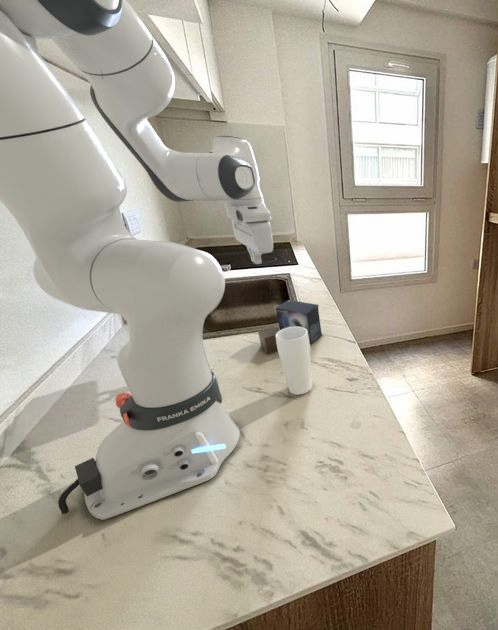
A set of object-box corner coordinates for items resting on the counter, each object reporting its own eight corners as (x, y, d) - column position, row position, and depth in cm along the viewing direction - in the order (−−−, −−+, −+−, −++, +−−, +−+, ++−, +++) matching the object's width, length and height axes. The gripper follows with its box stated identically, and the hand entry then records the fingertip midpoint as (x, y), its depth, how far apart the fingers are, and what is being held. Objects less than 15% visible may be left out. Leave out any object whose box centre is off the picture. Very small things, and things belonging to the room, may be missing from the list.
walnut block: (267, 354, 91) (264, 338, 89) (261, 347, 95) (258, 331, 93) (285, 348, 95) (282, 332, 92) (278, 341, 98) (275, 326, 96)
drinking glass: (300, 377, 82) (291, 323, 76) (321, 384, 80) (314, 330, 73) (279, 392, 77) (267, 336, 70) (301, 401, 74) (291, 343, 68)
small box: (279, 339, 99) (273, 307, 94) (293, 329, 104) (288, 299, 100) (310, 345, 96) (305, 312, 92) (322, 335, 102) (318, 303, 97)
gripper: (221, 205, 88) (233, 256, 94) (245, 216, 75) (257, 274, 81) (246, 204, 92) (256, 252, 98) (273, 213, 78) (283, 269, 84)
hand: (256, 262), depth 89 cm, fingers closed
